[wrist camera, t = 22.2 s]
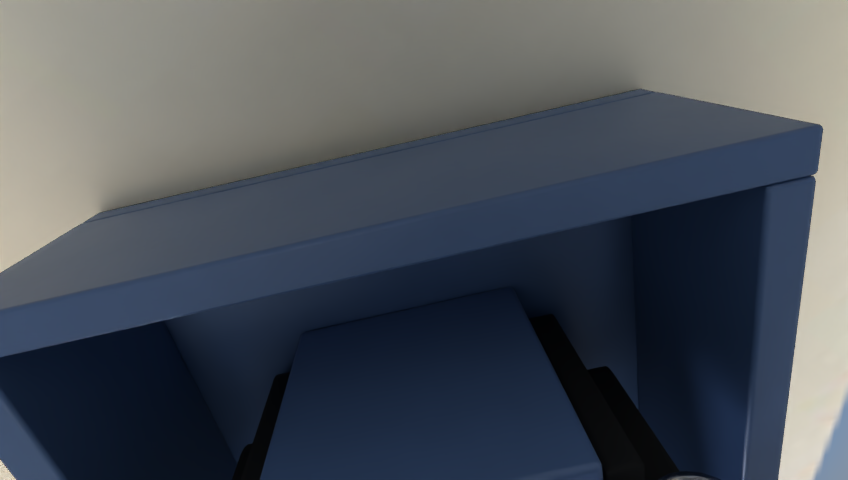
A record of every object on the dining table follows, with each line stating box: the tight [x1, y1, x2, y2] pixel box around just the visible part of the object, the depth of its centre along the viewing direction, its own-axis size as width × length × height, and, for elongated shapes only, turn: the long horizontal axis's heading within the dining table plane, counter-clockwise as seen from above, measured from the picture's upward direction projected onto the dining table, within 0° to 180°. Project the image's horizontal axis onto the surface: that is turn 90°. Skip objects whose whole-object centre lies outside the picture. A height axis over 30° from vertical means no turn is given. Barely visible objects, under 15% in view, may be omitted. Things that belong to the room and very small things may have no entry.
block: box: [260, 287, 603, 480], centre depth 9 cm, size 4×4×4 cm
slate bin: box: [0, 89, 823, 480], centre depth 9 cm, size 11×11×4 cm
